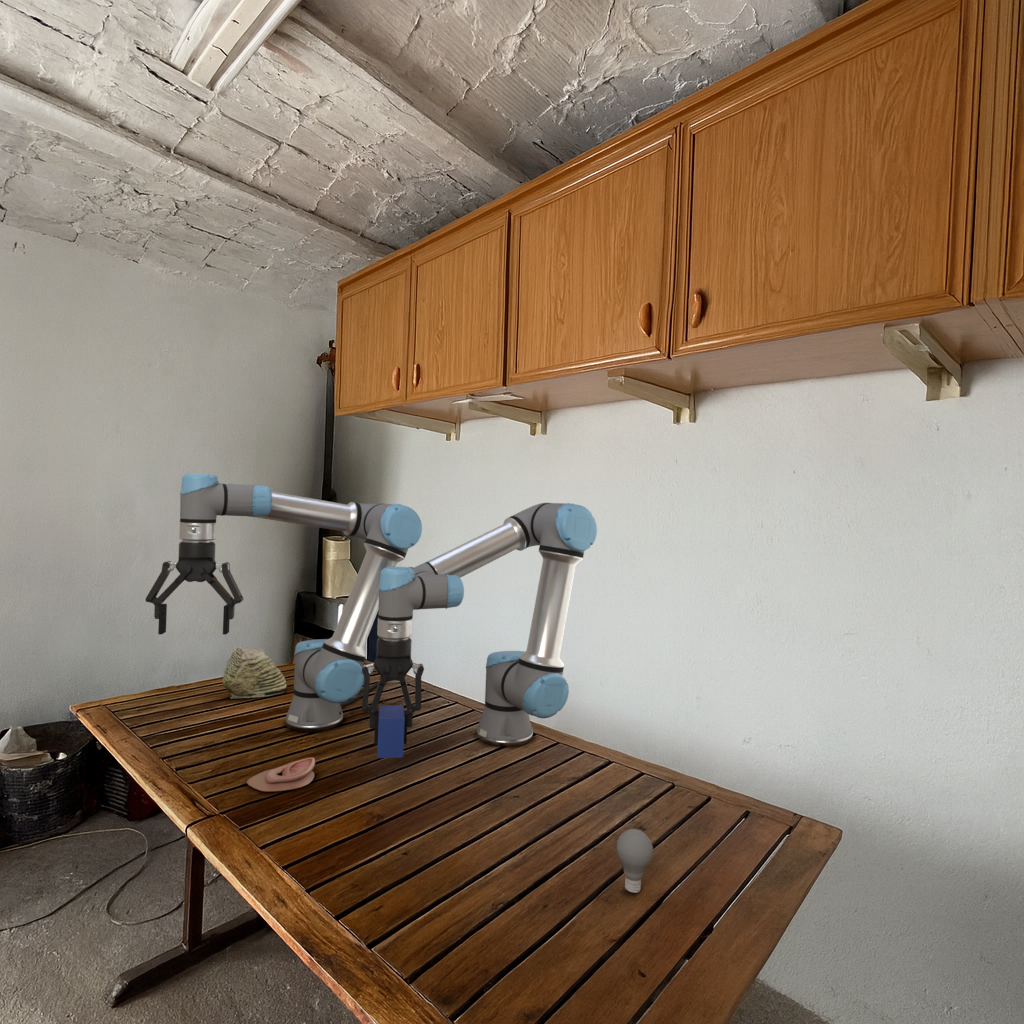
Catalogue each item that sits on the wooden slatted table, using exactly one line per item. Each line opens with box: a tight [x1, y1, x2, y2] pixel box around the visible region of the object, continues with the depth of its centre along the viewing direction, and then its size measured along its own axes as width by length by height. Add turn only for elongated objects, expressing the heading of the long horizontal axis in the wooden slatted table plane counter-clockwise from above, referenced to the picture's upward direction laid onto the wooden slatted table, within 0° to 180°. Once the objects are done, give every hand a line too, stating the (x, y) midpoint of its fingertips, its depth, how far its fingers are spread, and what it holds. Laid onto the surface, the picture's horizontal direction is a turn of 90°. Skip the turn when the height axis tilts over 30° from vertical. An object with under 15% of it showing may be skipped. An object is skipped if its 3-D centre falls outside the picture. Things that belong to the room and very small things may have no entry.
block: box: [376, 704, 405, 759], centre depth 140 cm, size 8×6×9 cm, turn 12°
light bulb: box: [615, 828, 654, 894], centre depth 106 cm, size 6×6×10 cm
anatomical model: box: [246, 757, 316, 792], centre depth 140 cm, size 13×4×12 cm
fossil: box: [222, 646, 288, 699], centre depth 198 cm, size 9×18×15 cm, turn 132°
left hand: (194, 633), depth 146 cm, fingers open, 13 cm apart
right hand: (390, 741), depth 140 cm, fingers closed on block, 5 cm apart
